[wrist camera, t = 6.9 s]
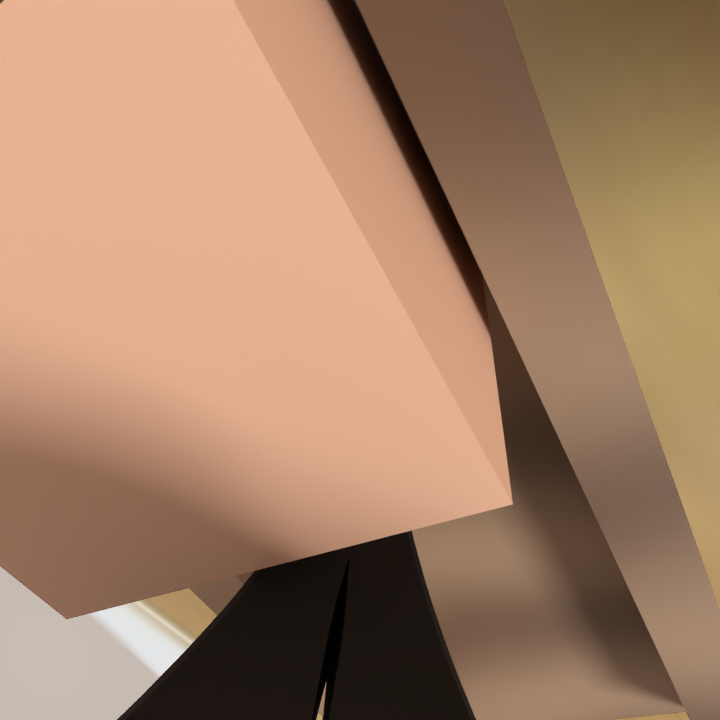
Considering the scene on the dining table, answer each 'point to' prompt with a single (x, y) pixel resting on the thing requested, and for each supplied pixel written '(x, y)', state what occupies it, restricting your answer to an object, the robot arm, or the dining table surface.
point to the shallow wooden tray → (544, 418)
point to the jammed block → (223, 300)
